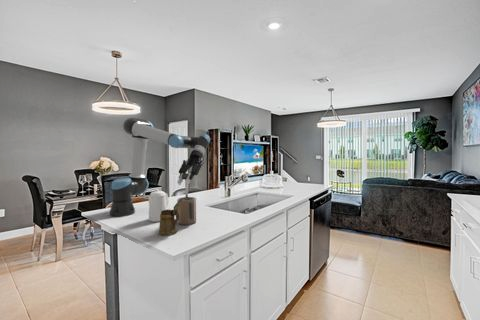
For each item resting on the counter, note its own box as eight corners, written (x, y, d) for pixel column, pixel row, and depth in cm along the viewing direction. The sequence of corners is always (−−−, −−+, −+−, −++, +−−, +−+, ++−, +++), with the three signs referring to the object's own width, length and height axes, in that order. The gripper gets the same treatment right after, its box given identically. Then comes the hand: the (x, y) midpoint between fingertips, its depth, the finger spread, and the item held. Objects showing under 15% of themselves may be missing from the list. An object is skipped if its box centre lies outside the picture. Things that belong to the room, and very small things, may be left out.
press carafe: (175, 222, 136) (174, 198, 135) (191, 219, 142) (190, 196, 141) (184, 227, 126) (184, 201, 126) (201, 223, 133) (200, 199, 132)
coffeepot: (136, 225, 130) (135, 192, 129) (160, 213, 155) (159, 185, 154) (154, 227, 128) (153, 193, 127) (175, 214, 152) (175, 186, 152)
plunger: (179, 205, 135) (179, 173, 134) (189, 203, 139) (188, 172, 138) (184, 207, 130) (183, 174, 130) (194, 205, 134) (193, 173, 133)
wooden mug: (178, 237, 112) (177, 200, 111) (154, 235, 116) (153, 199, 115) (187, 231, 120) (187, 196, 119) (165, 229, 124) (164, 195, 123)
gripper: (183, 149, 146) (166, 179, 131) (207, 149, 140) (193, 180, 125) (188, 157, 151) (172, 187, 136) (212, 157, 145) (198, 188, 130)
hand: (182, 183), depth 131 cm, fingers closed on plunger, 4 cm apart
